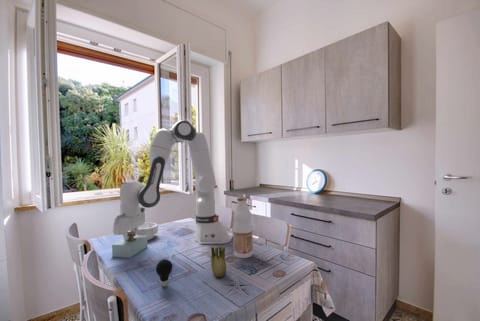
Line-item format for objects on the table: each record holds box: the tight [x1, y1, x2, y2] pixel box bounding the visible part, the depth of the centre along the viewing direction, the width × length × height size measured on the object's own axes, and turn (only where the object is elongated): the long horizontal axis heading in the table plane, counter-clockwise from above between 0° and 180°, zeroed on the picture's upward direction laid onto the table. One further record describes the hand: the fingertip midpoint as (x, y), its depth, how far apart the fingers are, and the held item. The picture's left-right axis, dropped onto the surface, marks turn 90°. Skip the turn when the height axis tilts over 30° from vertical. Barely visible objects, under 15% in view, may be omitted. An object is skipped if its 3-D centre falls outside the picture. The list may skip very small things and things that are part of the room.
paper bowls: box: [130, 222, 159, 241], centre depth 137 cm, size 15×15×8 cm
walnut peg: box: [127, 230, 134, 242], centre depth 117 cm, size 3×3×10 cm
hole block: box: [111, 235, 148, 259], centre depth 117 cm, size 10×14×6 cm
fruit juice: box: [232, 196, 254, 259], centre depth 110 cm, size 9×9×28 cm
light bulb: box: [155, 258, 173, 288], centre depth 84 cm, size 6×6×10 cm
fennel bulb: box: [210, 245, 227, 278], centre depth 91 cm, size 6×5×12 cm
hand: (130, 237), depth 117 cm, fingers open, 5 cm apart
